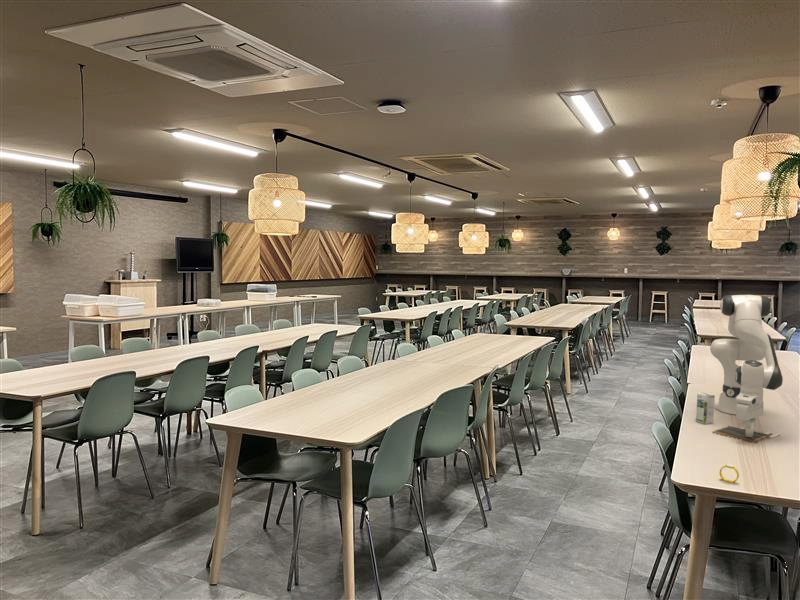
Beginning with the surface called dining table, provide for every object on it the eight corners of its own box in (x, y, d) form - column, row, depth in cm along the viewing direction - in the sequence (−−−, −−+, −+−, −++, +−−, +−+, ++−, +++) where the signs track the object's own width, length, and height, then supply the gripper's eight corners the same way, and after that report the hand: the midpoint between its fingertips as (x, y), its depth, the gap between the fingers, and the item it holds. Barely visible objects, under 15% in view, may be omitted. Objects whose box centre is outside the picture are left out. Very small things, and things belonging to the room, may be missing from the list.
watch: (738, 483, 209) (740, 467, 208) (736, 485, 207) (739, 469, 206) (719, 477, 212) (722, 461, 212) (718, 479, 210) (720, 463, 210)
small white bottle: (746, 434, 264) (747, 417, 264) (754, 436, 262) (755, 419, 261) (743, 436, 262) (744, 418, 262) (751, 438, 260) (752, 420, 259)
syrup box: (695, 421, 291) (696, 392, 290) (703, 420, 293) (705, 392, 292) (704, 424, 286) (706, 395, 285) (713, 423, 288) (715, 394, 287)
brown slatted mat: (728, 427, 281) (728, 425, 281) (770, 436, 267) (770, 434, 267) (712, 433, 271) (712, 430, 271) (754, 442, 257) (754, 440, 257)
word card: (767, 432, 273) (767, 431, 273) (779, 435, 270) (779, 434, 269) (760, 435, 269) (760, 434, 269) (772, 438, 265) (772, 437, 265)
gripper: (753, 393, 270) (751, 422, 271) (733, 398, 257) (732, 429, 258) (768, 395, 265) (766, 425, 266) (749, 401, 252) (747, 433, 253)
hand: (749, 427), depth 262 cm, fingers closed on small white bottle, 3 cm apart
